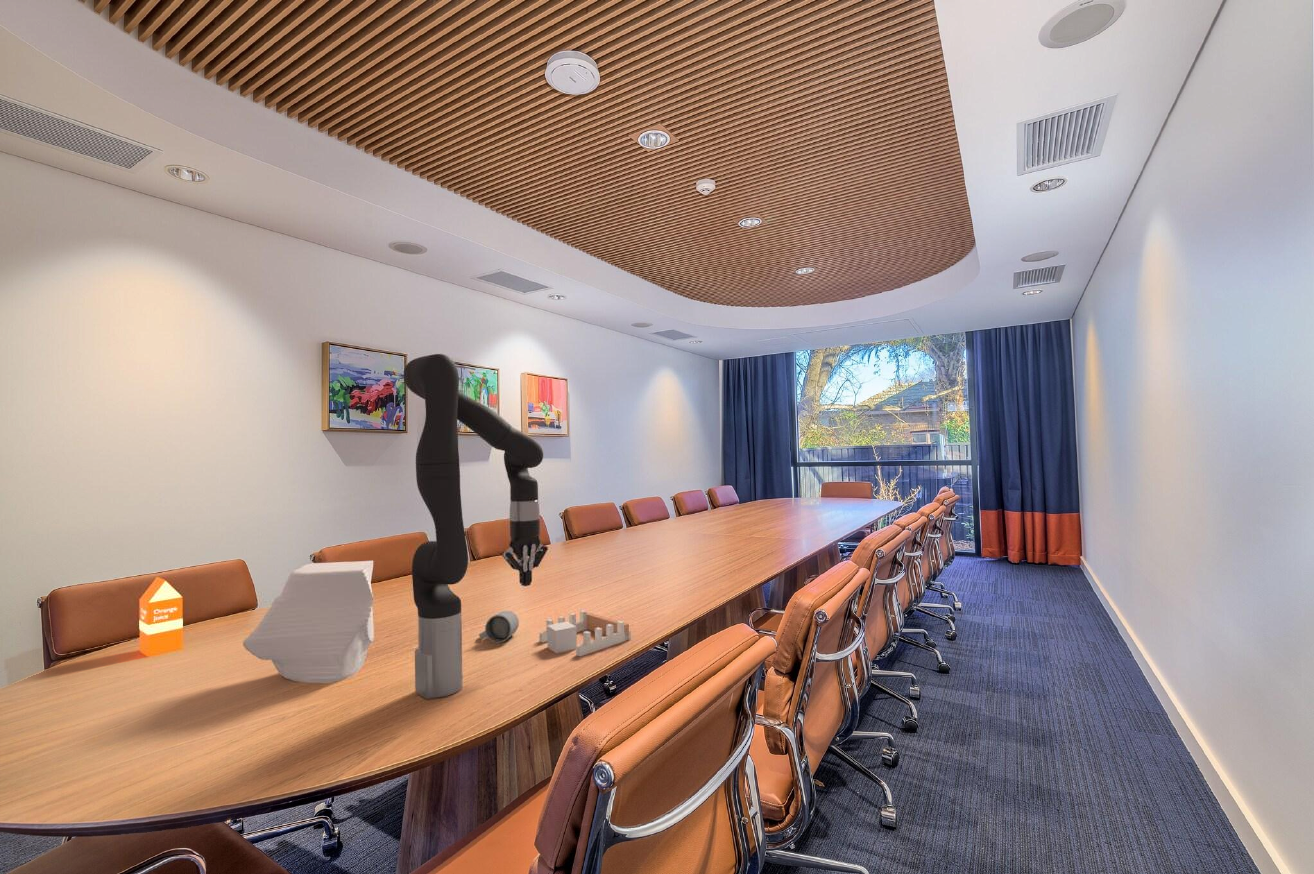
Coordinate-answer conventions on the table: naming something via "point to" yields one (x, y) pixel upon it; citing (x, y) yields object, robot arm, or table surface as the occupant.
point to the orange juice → (160, 619)
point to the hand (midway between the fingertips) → (525, 585)
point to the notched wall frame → (599, 625)
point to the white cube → (561, 637)
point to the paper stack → (318, 623)
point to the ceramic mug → (500, 627)
